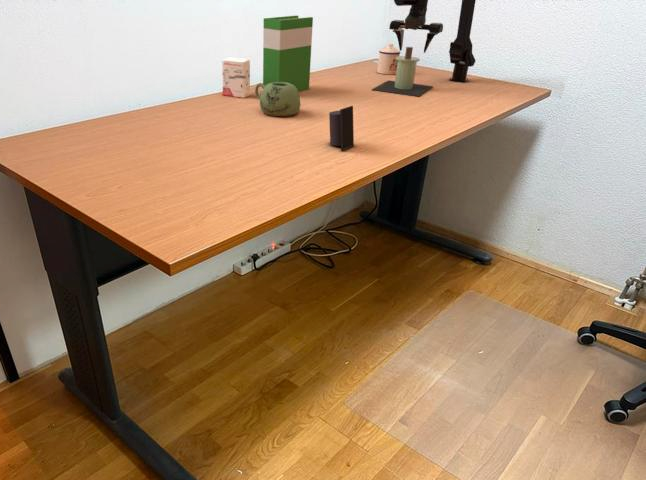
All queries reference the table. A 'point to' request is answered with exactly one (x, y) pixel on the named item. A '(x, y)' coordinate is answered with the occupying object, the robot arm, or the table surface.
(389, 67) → the teacup with lid
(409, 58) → the lid
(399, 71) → the canister
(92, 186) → the table surface
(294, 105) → the mug
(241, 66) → the ink box
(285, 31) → the hardback book
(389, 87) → the mat
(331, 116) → the speaker
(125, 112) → the table surface
